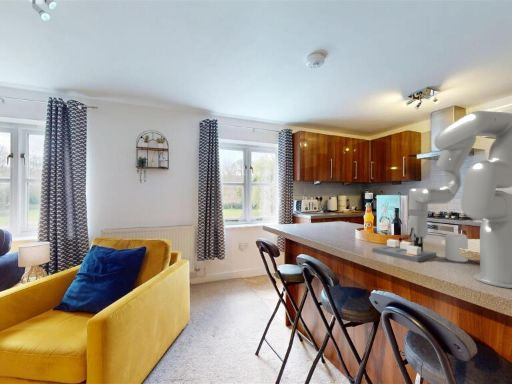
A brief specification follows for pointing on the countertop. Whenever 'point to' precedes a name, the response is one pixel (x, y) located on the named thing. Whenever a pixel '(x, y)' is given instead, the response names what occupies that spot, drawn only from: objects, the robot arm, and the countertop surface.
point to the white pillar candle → (455, 246)
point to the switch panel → (403, 253)
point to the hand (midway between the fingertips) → (418, 251)
